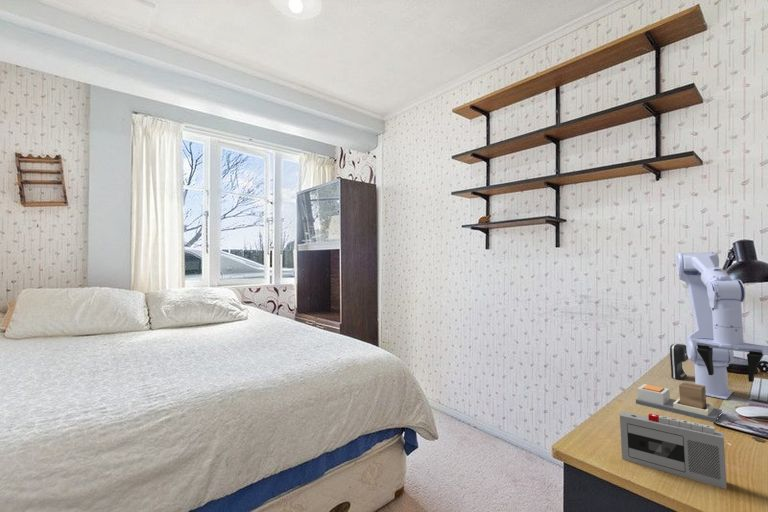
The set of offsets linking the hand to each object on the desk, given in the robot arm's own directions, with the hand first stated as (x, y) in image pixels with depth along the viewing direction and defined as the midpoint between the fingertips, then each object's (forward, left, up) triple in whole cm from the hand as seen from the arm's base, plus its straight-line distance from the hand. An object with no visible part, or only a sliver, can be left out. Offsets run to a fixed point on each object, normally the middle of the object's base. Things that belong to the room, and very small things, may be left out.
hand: (730, 377), depth 94 cm
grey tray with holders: (+6, -10, -9) cm, 15 cm away
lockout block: (+6, -7, -8) cm, 12 cm away
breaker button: (+6, -16, -8) cm, 18 cm away
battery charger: (-27, -17, -10) cm, 33 cm away
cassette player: (+43, -3, -10) cm, 44 cm away
